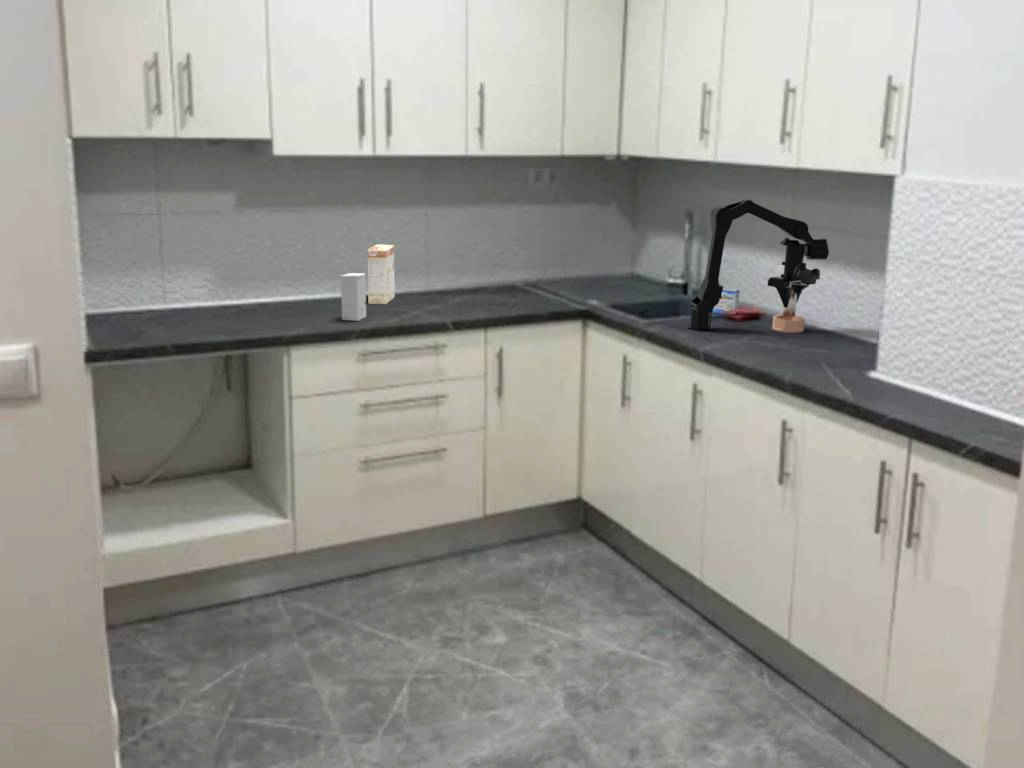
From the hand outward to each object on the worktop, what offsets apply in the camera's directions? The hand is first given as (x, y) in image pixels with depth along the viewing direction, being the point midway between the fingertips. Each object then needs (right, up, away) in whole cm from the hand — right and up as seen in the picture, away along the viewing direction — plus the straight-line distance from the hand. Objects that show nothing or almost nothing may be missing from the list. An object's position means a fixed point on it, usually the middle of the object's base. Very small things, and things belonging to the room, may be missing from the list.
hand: (789, 306), depth 341 cm
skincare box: (-143, -4, +3) cm, 143 cm away
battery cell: (0, -3, +1) cm, 3 cm away
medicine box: (-15, 0, +29) cm, 32 cm away
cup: (0, -7, +2) cm, 8 cm away
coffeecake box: (-139, +5, +38) cm, 144 cm away
